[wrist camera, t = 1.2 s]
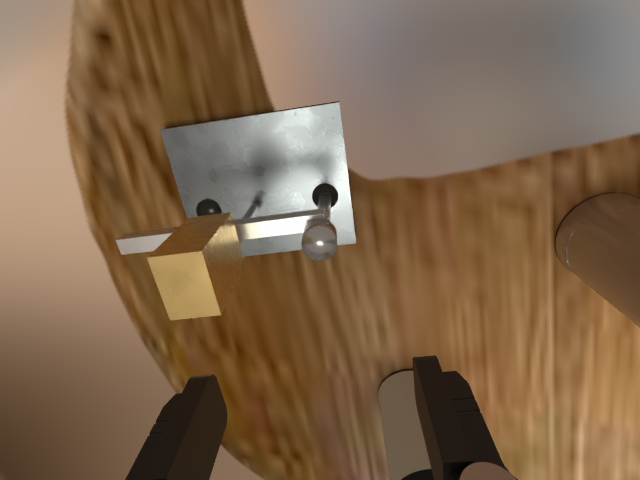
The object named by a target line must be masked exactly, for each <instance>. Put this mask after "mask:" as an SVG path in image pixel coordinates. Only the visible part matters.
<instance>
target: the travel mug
mask: <svg viewBox="0 0 640 480" xmlns="http://www.w3.org/2000/svg"><path fill="white" fill-rule="evenodd" d="M378 397H379V405H380V412H381V420H382V427H383V434H384V442H385V449H386V457H387V464H388V471H389V479H390V480H434V477H433V473H432V469H431V465H430V461H429V457H428V453H427V448H426V444H425V440H424V436H423V432H422V428H421V424H420V419H419V415H418V411H417V406H416V400H415V390H414V375H413V371H402V372H399V373H396V374H393V375H391V376H390V377H388V378H387V379H386V380H385V381H384V382H383V383H382V384H381V386H380V388H379V392H378Z"/></svg>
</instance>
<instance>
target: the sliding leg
mask: <svg viewBox="0 0 640 480" xmlns="http://www.w3.org/2000/svg"><path fill="white" fill-rule="evenodd" d="M259 210H260V207H259V206H258V205H257V204H252V205H251V206H250V207H249V209H248V210H247V212H246V213H245V215H244V216H243V218H242V219H244V218H252V217H256V216H257V214H258V212H259ZM242 241H243V240H238V236H237V232H236V228H235V224H234V220H233V216H232V213H231V212H228V213H221V214H213V215H205V216H198V217H190V218H187V219H186V220H185V221H184V222H183V223H182V224H181V225H180V226H179V227H178V228H177V229H176V230H175V231H174V232H173V233H172V234H171V235H170V236H169V237H168V238H167V239H166V240H165V241H164V242H163V243H162V244H161V245H160V246H158V247H157V248H156V249H155V250H154V251H153V252H152V253H151V254H150V255H149V256H148V257H147V259H148V262H149V265H150V267H151V270H152V273H153V275H154V278H155V281H156V283H157V286H158V289H159V291H160V294H161V297H162V300H163V302H164V305H165V308H166V310H167V313H168V316H169V318H170V320H178V319H187V318H197V317H207V316H216V315H221V314H222V312H223V310H224V308H225V306H226V304H227V302H228V300H229V298H230V295H231V293H232V291H233V289H234V287H235V285H236V283H237V281H238V279H239V277H240V274H241V272H242V270H243V268H244V266H245V263H244V259H243V255H242V251H241V248H240V244H241V243H242Z"/></svg>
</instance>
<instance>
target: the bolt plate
mask: <svg viewBox="0 0 640 480" xmlns="http://www.w3.org/2000/svg"><path fill="white" fill-rule="evenodd" d="M160 132H161V136H162V139H163V142H164V145H165V148H166V152H167V155H168V158H169V161H170V165H171V168H172V171H173V174H174V177H175V181H176V184H177V187H178V190H179V194H180V197H181V200H182V203H183V207H184V210H185V213H186V216H187V218H190V217H198V216H205V215H213V214H221V213H228V212H231V213H232V216H233V220H234V224H235V228H236V232H237V236H238V240H243V241H242V243H241V244H240V248H241V251H242V255H243V257H244V256H252V255H260V254H269V253H277V252H286V251H294V250H303V252H304V253H305V255H306V256H307V257H309V258H310V259H313V260H316V261H323V260H326V259H329V258H330V257H332V256H333V255H334V253H335V252H336V249H337V245H345V244H354V243H356V238H355V229H354V221H353V212H352V204H351V195H350V187H349V179H348V170H347V162H346V153H345V145H344V138H343V128H342V120H341V111H340V103H339V101H338V102H332V103H325V104H319V105H312V106H305V107H299V108H293V109H286V110H280V111H273V112H266V113H260V114H254V115H247V116H241V117H234V118H228V119H221V120H215V121H208V122H202V123H195V124H189V125H182V126H176V127H169V128H165V129H161V130H160ZM252 204H257V205H258V206H259V207H260V210H259V212H258V214H257V216H256V217H252V218H244V219H242V218H243V216H244V215H245V213H246V212H247V210H248V209H249V207H250V206H251V205H252ZM177 228H178V227H174V228H166V229H158V230H150V231H143V232H135V233H127V234H123V235H122V236H121V237H119V238H118V239H117V240H116V242H117V245H118V247H119V250H120V252H121V255H123V254H132V253H140V252H148V251H154V250H155V249H156V248H157V247H158V246H160V245H161V244H162V243H163V242H164V241H165V240H166V239H167V238H168V237H169V236H170V235H171V234H172V233H173V232H174V231H175V230H176V229H177Z"/></svg>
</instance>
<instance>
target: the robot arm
mask: <svg viewBox="0 0 640 480" xmlns="http://www.w3.org/2000/svg"><path fill="white" fill-rule="evenodd" d="M555 247H556V252H557V256H558V257H559V259H560V261H561V262H562V263H563V264H564V265H565V266H566V267H567V268H568V269H570V270H571V271H572V272H573V273H574V274H576V275H577V276H578V277H579V278H580V279H582V280H583V281H584V282H585V283H586V284H587V285H589V286H590V287H591V288H592V289H594V290H595V291H596V292H597V293H598V294H600V295H601V296H602V297H603V298H604V299H606V300H607V301H608V302H609V303H610V304H612V305H613V306H614V307H615V308H617V309H618V310H619V311H620V312H621V313H623V314H624V315H625V316H626V317H627V318H629V319H630V320H631V321H632V322H633V323H635V324H636V325H637V326H638V327H640V199H638V198H635V197H633V196H630V195H627V194H622V193H608V194H602V195H599V196H595V197H593V198H591V199H589V200H587V201H584V202H583V203H581V204H580V205H579V206H577V207H576V208H574V209H573V210H572V211H571V212H570V213H569V214H568V215H567V217H566V218H565V219H564V221H563V222H562V223H561V226H560V228H559V230H558V232H557V236H556V240H555ZM413 375H414V390H415V400H416V406H417V411H418V415H419V419H420V424H421V428H422V432H423V436H424V440H425V444H426V448H427V453H428V457H429V461H430V465H431V469H432V473H433V477H434V480H518V479H516V478H515V477H514V476H513V475H512V474H511V473H510V472H509V471H508V470H507V468H506V467H505V466H504V464H503V462H502V460H501V458H500V456H499V453H498V451H497V449H496V446H495V444H494V442H493V439H492V437H491V435H490V432H489V430H488V428H487V426H486V423H485V421H484V419H483V416H482V414H481V413H480V409H479V407H478V405H477V402H476V401H475V398H474V395H473V393H472V391H471V388H470V386H469V384H468V382H467V381H466V380H465V379H464V378H463V377H462V376H461V375H460V374H459V373H458V372H457V371H450V372H442V370H441V367H440V364H439V361H438V359H437V357H436V356H424V357H413ZM226 423H227V408H226V404H225V402H224V399H223V396H222V393H221V390H220V387H219V384H218V381H217V378H216V376H215V375H202V376H192V377H190V379H189V380H188V382H187V384H186V386H185V388H184V390H183V392H182V393H180V394H175V395H174V396H173V397H172V398H171V400H169V402H168V403H167V404H166V405H165V406H164V407H163V409H162V410H161V412H160V415H159V416H158V418H157V420H156V424H154V426H153V428H152V430H151V432H150V436H148V437H147V439H146V441H145V443H144V445H143V447H142V449H141V451H140V453H139V455H138V457H137V458H136V460H135V462H134V464H133V466H132V468H131V470H130V472H129V474H128V476H127V477H126V479H125V480H209V478H210V475H211V472H212V469H213V466H214V462H215V459H216V456H217V453H218V450H219V447H220V443H221V440H222V437H223V434H224V431H225V428H226Z"/></svg>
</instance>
